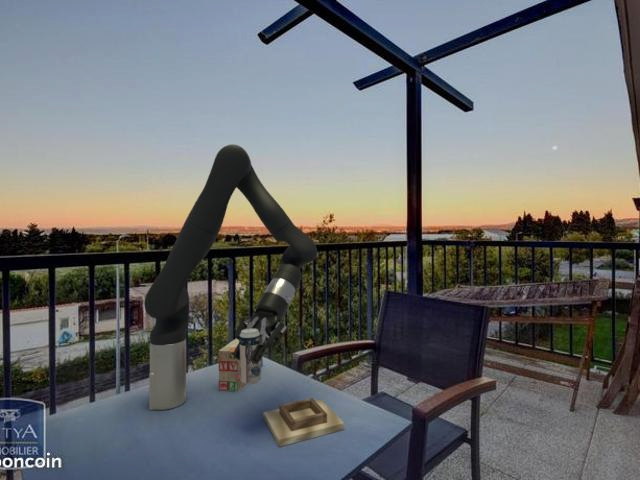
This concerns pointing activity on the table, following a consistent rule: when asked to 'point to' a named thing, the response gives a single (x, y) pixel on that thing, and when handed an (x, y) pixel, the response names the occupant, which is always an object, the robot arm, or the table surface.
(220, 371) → the stack of blocks
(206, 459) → the table surface
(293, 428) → the base board
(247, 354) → the beer can
